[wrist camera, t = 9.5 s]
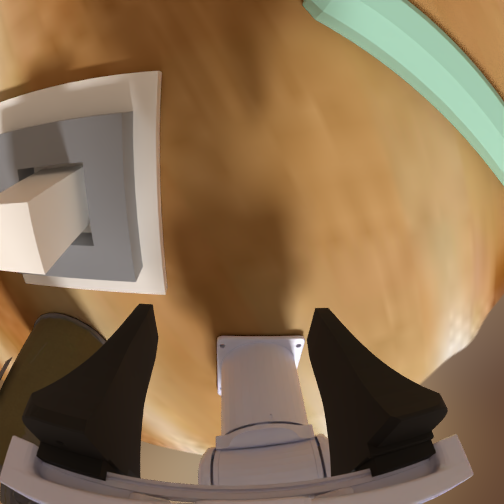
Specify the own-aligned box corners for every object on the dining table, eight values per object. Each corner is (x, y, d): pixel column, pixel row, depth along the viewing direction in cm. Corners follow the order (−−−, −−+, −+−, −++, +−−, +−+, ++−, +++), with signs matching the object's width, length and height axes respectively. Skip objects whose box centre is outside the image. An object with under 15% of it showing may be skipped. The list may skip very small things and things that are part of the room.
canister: (136, 365, 28) (104, 546, 10) (83, 385, 30) (47, 524, 12) (60, 293, 23) (-30, 487, 5) (19, 327, 25) (-48, 470, 7)
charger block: (93, 220, 19) (45, 274, 12) (49, 220, 18) (-3, 269, 12) (86, 165, 17) (27, 202, 11) (42, 169, 16) (-21, 205, 10)
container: (314, -30, 8) (548, 212, 15) (343, -66, 8) (551, 156, 14) (277, 27, 14) (500, 208, 20) (307, -18, 14) (508, 157, 20)
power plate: (167, 287, 23) (160, 311, 20) (30, 277, 22) (15, 296, 19) (161, 72, 15) (149, 67, 13) (1, 103, 14) (-23, 108, 11)
